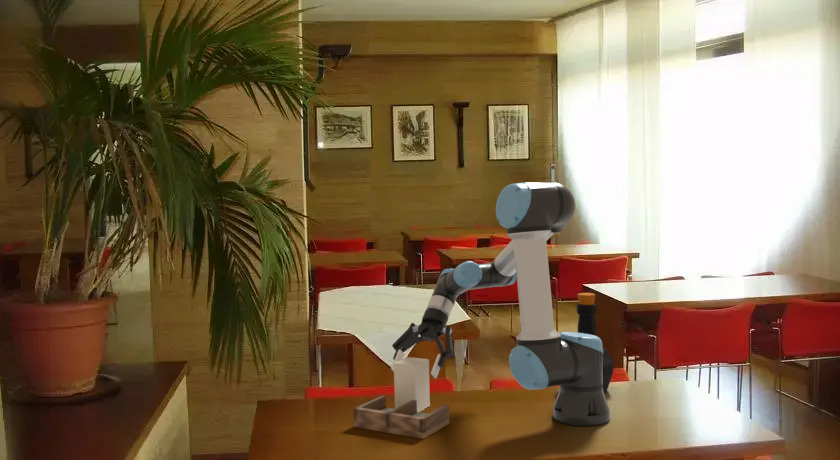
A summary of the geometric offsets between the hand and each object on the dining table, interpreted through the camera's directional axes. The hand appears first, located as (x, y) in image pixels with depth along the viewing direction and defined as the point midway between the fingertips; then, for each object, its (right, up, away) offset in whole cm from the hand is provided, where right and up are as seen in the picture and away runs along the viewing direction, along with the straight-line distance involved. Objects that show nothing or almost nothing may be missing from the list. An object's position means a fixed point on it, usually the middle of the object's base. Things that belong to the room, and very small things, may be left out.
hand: (413, 373), depth 218 cm
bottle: (+54, -8, +13) cm, 56 cm away
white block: (0, -10, -2) cm, 10 cm away
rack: (-3, -11, -17) cm, 20 cm away
